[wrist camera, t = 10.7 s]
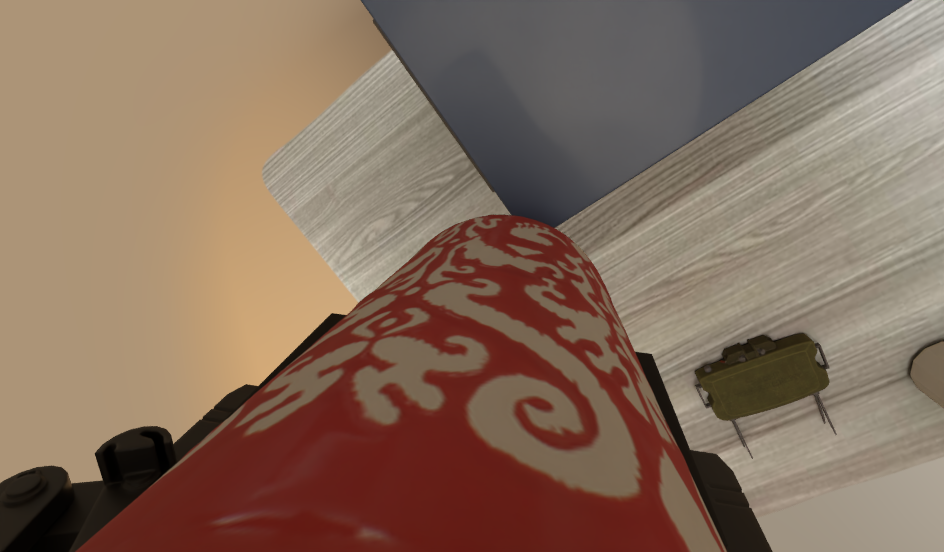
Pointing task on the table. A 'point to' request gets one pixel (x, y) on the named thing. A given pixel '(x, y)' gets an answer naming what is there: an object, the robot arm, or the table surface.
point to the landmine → (763, 377)
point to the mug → (444, 424)
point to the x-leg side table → (600, 80)
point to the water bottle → (930, 372)
